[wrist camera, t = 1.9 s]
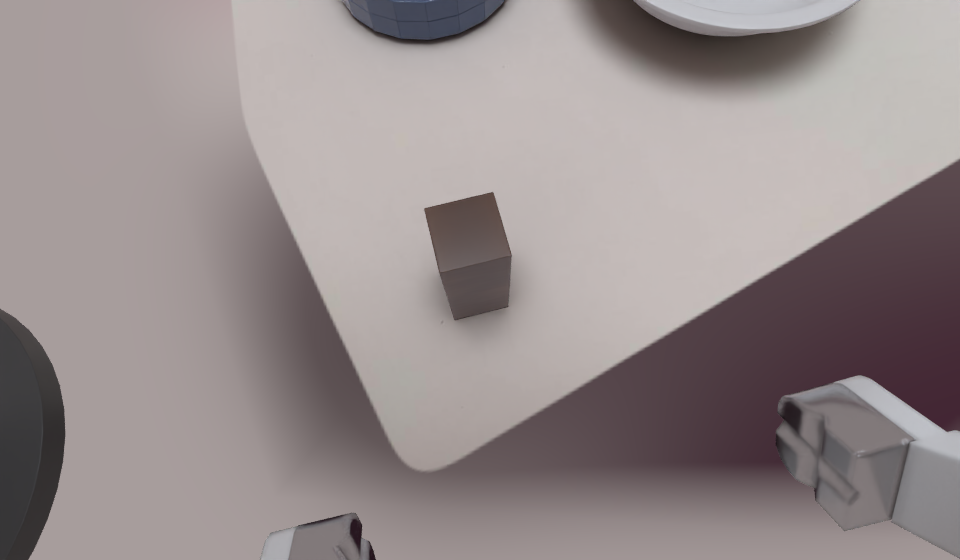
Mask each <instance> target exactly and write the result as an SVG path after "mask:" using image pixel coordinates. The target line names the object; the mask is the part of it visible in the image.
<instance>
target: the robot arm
mask: <svg viewBox="0 0 960 560" xmlns="http://www.w3.org/2000/svg"><path fill="white" fill-rule="evenodd" d="M778 414H779V415H780V416H781V417H782V418H783V419H784V421H783V423H782V424H781V425H780V427H779V428H778V429H777V431H776V446H777V449H778V452H779V455H780V458H781V460H782V462H783V463H784V465H785V466H786V468H787V470H788V471H789V472H790V473H791V474H792V475H793V476H794V477H795V479H796V480H797V481H799V482H802V483H804V484H806V485H808V486H811V487H813V488H814V489H815V490H814V491H815V500H816V501H817V502H818V503H819V504H820V506H821V507H822V508H823V509H824V510H825V511H826V512H827V513H828V514H829V515H830V516H831V518H832V519H833V520H834V521H835V522H836V523H837V524H838V525H839V526H840V527H841V528H842V529H843V530H844V531H847V530H851V529H855V528H859V527H863V526H867V525H871V524H875V523H879V522H883V521H887V520H891V519H892V521H891V522H892V523H894V524H896V525H898V526H899V527H901V528H903V529H905V530H907V531H909V532H911V533H913V534H914V535H917V536H918V537H920V538H922V539H924V540H926V541H928V542H929V543H931V544H933V545H935V546H937V547H939V548H941V549H943V550H945V551H947V552H949V553H950V554H952V555H954V556H956V557H958V558H960V432H959V431H956V430H954V431H950V432H946V431H944V430H943V429H941V428H940V427H939V426H937V425H936V424H934V423H933V422H931V421H930V420H929V419H927V418H926V417H924V416H923V415H921V414H920V413H918V412H917V411H916V410H914V409H913V408H911V407H910V406H909V405H907V404H906V403H904V402H903V401H901V400H900V399H899V398H897V397H896V396H894V395H893V394H891V393H890V392H889V391H887V390H885V389H884V388H882V387H881V386H880V385H879V384H877V383H876V382H874V381H873V380H871V379H870V378H868V377H864V376H861V375H859V376H855V377H851V378H848V379H844V380H841V381H837V382H834V383H830V384H825V385H822V386H818V387H815V388H812V389H808V390H804V391H801V392H797V393H793V394H790V395H786V396H783V397H782V398H781V400H780V401H779V403H778ZM361 533H362V524H361V522H360V520H359V518H358V516H357V514H356V513H349V514H345V515H340V516H336V517H333V518H328V519H324V520H320V521H315V522H311V523H307V524H303V525H299V526H297V527H293V528H289V529H285V530H280V531H276V532H272V533H270V535H269V536H268V538H267V539H266V541H265V543H264V547H263V551H262V555H261V558H260V560H376V559H375V555H374V551H373V549H372V546H371V544H370V542H369V541H367V540H365V539H363V538H361V535H362V534H361Z"/></svg>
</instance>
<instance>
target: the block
mask: <svg viewBox="0 0 960 560" xmlns="http://www.w3.org/2000/svg"><path fill="white" fill-rule="evenodd" d="M424 210H425V214H426V218H427V223H428V227H429V231H430V235H431V239H432V244H433V248H434V252H435V256H436V260H437V265H438V269H439V273H440V276H441V279H442V282H443V285H444V289H445V292H446V295H447V298H448V301H449V304H450V307H451V310H452V313H453V317H454V319H455V320H457V319H461V318H465V317H469V316H473V315H477V314H481V313H485V312H489V311H493V310H497V309H501V308H505V307H508V302H509V287H510V272H511V257H512V255H511V251H510V248H509V244H508V241H507V237H506V234H505V231H504V227H503V224H502V220H501V217H500V213H499V210H498V207H497V203H496V200H495V196H494V193H493V192H491V193H487V194H483V195H479V196H474V197H470V198H466V199H462V200H458V201H454V202H449V203H445V204H441V205H437V206H433V207H428V208H425V209H424Z"/></svg>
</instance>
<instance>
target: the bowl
mask: <svg viewBox="0 0 960 560" xmlns="http://www.w3.org/2000/svg"><path fill="white" fill-rule="evenodd" d="M342 1H343V2H344V4H345V5H346V6H347V8H348V9H349V11H350V12H351V13H352V15H353V16H354V17H355V18H357V19H358V20H360V21H361V22H363V23H364V24H366V25H367V26H368V27H370V28H371V29H373V30H375V31H377V32H380V33H384V34H387V35H390V36H394V37H397V38H400V39H401V38H402V39H426V40H430V39H436V38H441V37H445V36H450V35H454V34H458V33H461V32H463V31H465V30H467V29H469V28H471V27H473V26H475V25H477V24H479V23H481V22H482V21H484V20H486V19H487V18H488V17H489V16H490V15H491V14H492V13H493V12H494V11H495V10H496V9H497V8H498V7H499V6H500V5H501V4H503V2H504V0H342Z"/></svg>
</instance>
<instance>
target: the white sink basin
mask: <svg viewBox="0 0 960 560" xmlns="http://www.w3.org/2000/svg"><path fill="white" fill-rule="evenodd" d="M633 1H634V2H635V3H637V4H638V5H639V6H640V7H641V8H642V9H644V10H645V11H647V12H648V13H649V14H651V15H652V16H654V17H656V18H658V19H659V20H661V21H663V22H665V23H667V24H669V25H672V26H674V27H677V28H680V29H683V30H686V31H689V32H694V33H698V34H704V35H711V36H746V35H753V34H759V33H772V32H782V31H788V30H794V29H799V28H803V27H807V26H811V25H814V24H817V23H820V22H822V21H825V20H828V19H830V18H832V17H834V16H836V15H838V14H840V13H842V12H844V11H845V10H847V9H849V8H850V7H852V6H853V5H855V4H856V3H857V2H859V1H860V0H633Z"/></svg>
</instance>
